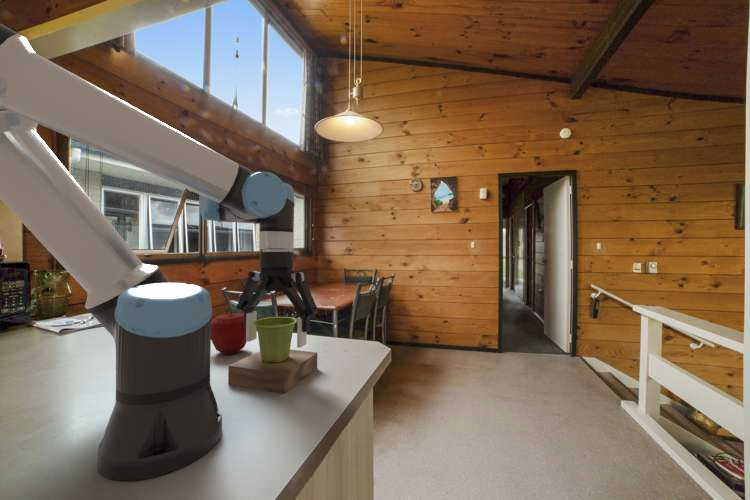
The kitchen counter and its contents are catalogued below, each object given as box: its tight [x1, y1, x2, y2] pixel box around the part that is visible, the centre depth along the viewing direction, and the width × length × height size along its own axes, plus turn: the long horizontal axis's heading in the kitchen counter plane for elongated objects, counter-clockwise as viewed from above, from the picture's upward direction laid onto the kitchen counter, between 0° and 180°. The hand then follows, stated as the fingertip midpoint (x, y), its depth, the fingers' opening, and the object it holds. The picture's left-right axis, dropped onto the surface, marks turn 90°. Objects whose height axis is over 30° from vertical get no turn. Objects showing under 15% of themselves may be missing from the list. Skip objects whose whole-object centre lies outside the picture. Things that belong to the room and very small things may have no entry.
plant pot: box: [254, 316, 297, 363], centre depth 72 cm, size 9×9×9 cm
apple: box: [211, 311, 247, 355], centre depth 89 cm, size 11×11×12 cm
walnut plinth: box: [227, 348, 318, 394], centre depth 72 cm, size 14×14×4 cm
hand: (275, 343), depth 72 cm, fingers open, 13 cm apart
